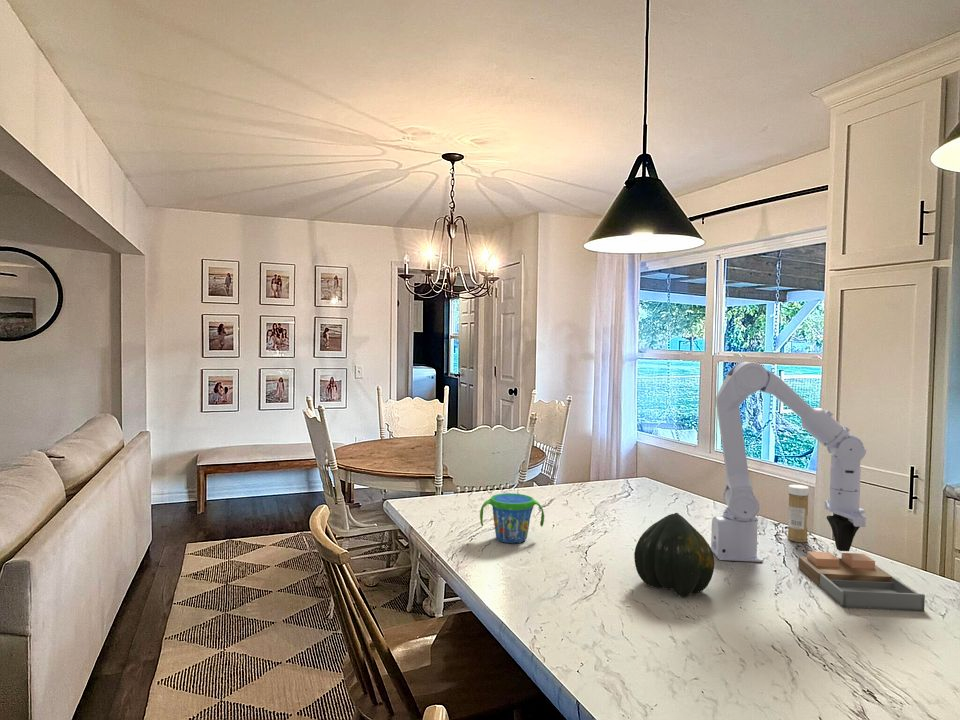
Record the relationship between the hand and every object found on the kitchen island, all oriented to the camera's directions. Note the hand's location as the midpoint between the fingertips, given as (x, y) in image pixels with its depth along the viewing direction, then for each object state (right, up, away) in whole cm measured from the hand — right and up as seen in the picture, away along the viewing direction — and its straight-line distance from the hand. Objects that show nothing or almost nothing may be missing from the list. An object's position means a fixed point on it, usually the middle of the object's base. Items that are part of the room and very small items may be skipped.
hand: (842, 550), depth 138 cm
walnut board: (-4, -3, -8) cm, 9 cm away
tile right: (-1, -1, -7) cm, 7 cm away
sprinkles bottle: (-1, -3, +17) cm, 17 cm away
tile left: (-8, -1, -6) cm, 10 cm away
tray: (-5, -4, -18) cm, 19 cm away
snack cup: (-72, -2, +15) cm, 74 cm away
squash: (-42, -3, -14) cm, 44 cm away
